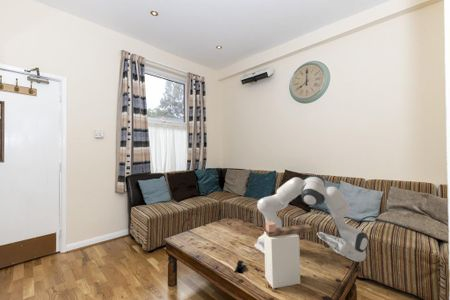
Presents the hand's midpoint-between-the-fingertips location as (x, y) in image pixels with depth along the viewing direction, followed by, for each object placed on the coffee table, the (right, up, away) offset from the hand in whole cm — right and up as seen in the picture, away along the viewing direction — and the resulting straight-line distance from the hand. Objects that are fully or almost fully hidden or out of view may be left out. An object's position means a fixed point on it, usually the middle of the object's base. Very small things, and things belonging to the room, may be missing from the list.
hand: (322, 237), depth 122 cm
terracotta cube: (-32, +7, -7) cm, 33 cm away
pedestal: (-25, -22, -5) cm, 33 cm away
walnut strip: (-21, +4, -5) cm, 22 cm away
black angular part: (-47, -23, +7) cm, 53 cm away
